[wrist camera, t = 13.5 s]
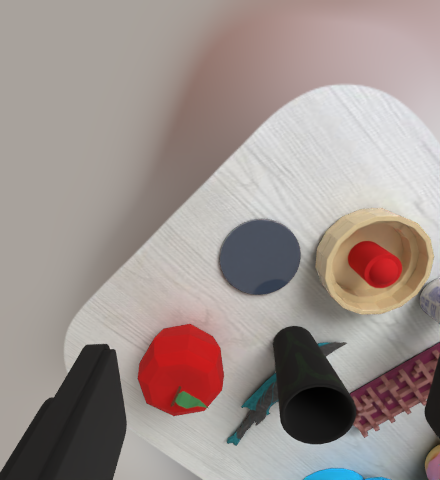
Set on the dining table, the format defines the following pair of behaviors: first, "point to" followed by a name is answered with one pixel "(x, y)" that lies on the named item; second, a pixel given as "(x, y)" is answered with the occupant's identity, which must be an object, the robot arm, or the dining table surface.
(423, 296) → the beverage can
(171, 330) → the apple
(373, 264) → the red cylinder
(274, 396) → the knife
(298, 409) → the cup
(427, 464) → the doughnut
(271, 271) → the dark grey coaster
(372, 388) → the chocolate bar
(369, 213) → the serving bowl
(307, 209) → the dining table surface
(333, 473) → the mug
